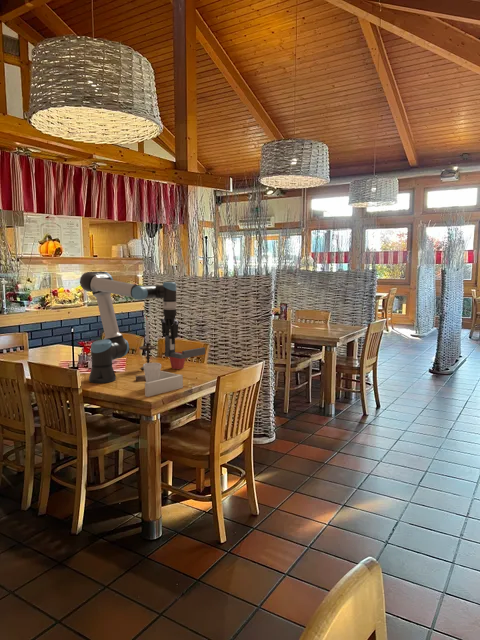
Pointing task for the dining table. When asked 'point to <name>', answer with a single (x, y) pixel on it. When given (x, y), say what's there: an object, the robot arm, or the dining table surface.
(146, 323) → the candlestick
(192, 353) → the crook tool
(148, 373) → the cup
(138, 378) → the walnut stick
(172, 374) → the cubby
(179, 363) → the flower pot
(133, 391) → the dining table surface
